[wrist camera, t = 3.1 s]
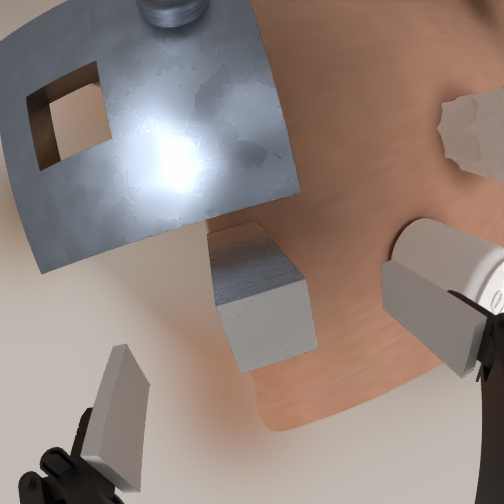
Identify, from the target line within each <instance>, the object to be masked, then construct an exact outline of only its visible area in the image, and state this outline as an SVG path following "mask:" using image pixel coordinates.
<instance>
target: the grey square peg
mask: <svg viewBox="0 0 504 504" xmlns="http://www.w3.org/2000/svg"><path fill="white" fill-rule="evenodd" d="M207 240H208V249H209V257H210V265H211V274H212V282H213V289H214V297H215V304H216V308H217V311H218V314H219V317H220V319H221V322H222V325H223V328H224V330H225V333H226V336H227V339H228V342H229V344H230V347H231V350H232V352H233V355H234V357H235V360H236V363H237V365H238V368H239V370H240V373H243V372H247V371H251V370H254V369H257V368H261V367H264V366H267V365H270V364H274V363H277V362H280V361H283V360H286V359H289V358H292V357H295V356H298V355H301V354H303V353H306V352H309V351H312V350H315V349H317V348H318V346H317V340H316V333H315V327H314V321H313V315H312V309H311V304H310V298H309V292H308V287H307V281H306V278H305V277H304V276H303V275H302V274H301V272H300V271H299V270H298V269H297V268H296V267H295V265H294V264H293V263H292V262H291V261H290V260H289V259H288V257H287V256H286V255H285V254H284V253H283V252H282V251H281V249H280V248H279V247H278V246H277V245H276V244H275V243H274V241H273V240H272V239H271V238H270V237H269V236H268V235H267V233H266V232H265V231H264V230H263V229H262V228H261V227H260V226H259V224H258V223H257V222H256V221H255V220H254V221H251V222H247V223H244V224H240V225H237V226H233V227H230V228H226V229H223V230H220V231H216V232H213V233H209V234H207Z"/></svg>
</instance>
